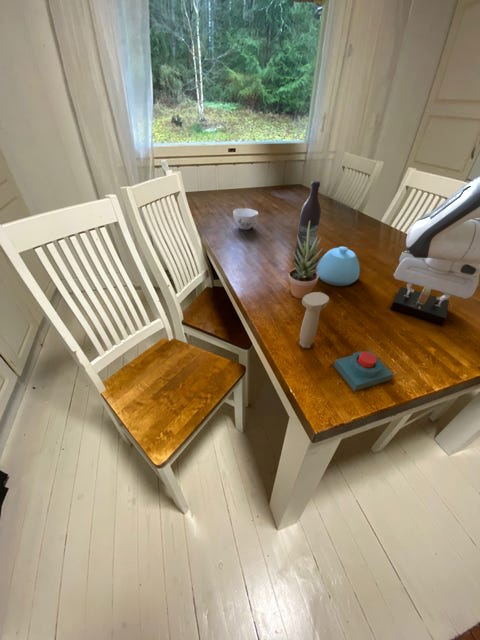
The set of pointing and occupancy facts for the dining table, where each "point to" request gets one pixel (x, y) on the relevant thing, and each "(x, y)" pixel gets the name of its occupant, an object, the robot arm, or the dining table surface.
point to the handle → (311, 316)
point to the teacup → (245, 217)
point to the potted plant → (305, 268)
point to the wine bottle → (309, 219)
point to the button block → (362, 372)
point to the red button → (366, 360)
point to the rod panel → (420, 307)
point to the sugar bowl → (339, 267)
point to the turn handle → (424, 296)
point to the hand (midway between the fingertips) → (422, 299)
